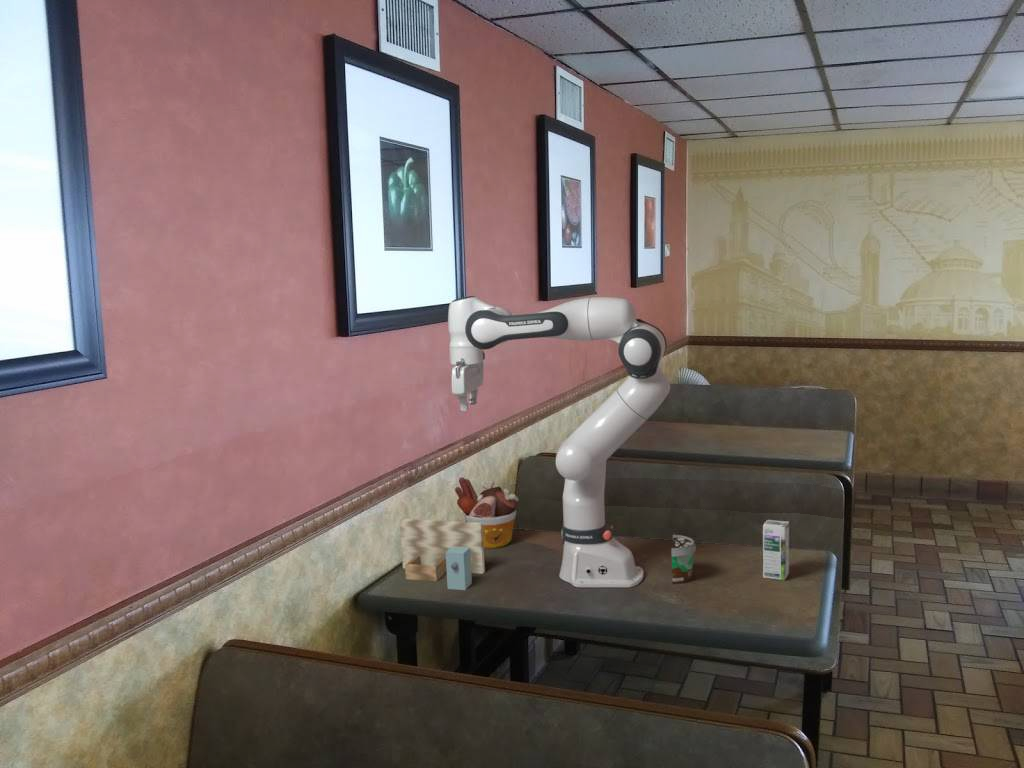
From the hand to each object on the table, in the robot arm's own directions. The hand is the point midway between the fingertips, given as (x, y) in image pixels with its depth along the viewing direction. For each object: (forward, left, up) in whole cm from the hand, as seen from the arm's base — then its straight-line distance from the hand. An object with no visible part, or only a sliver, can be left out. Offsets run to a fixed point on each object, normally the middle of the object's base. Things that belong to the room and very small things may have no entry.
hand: (468, 407), depth 253 cm
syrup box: (-80, -10, -46) cm, 93 cm away
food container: (-57, -4, -46) cm, 73 cm away
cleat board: (+9, +6, -46) cm, 47 cm away
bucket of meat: (+4, -23, -46) cm, 52 cm away
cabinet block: (0, +13, -46) cm, 48 cm away
